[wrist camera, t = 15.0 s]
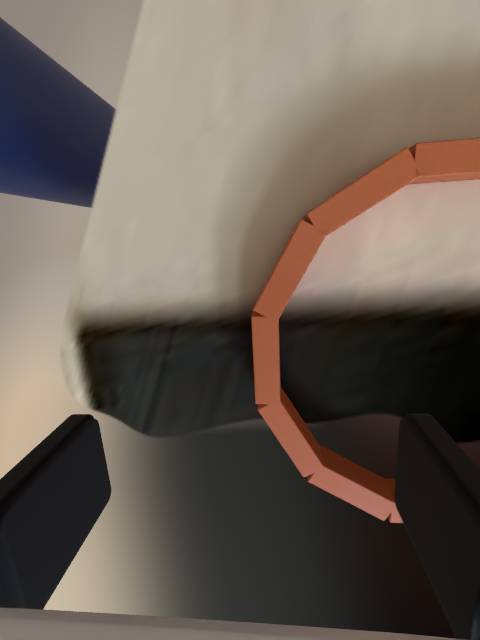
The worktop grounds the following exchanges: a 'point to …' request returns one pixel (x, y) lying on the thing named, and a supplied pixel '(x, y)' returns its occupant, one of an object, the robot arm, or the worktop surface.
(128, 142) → the worktop surface
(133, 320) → the worktop surface
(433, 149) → the ring
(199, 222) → the worktop surface
